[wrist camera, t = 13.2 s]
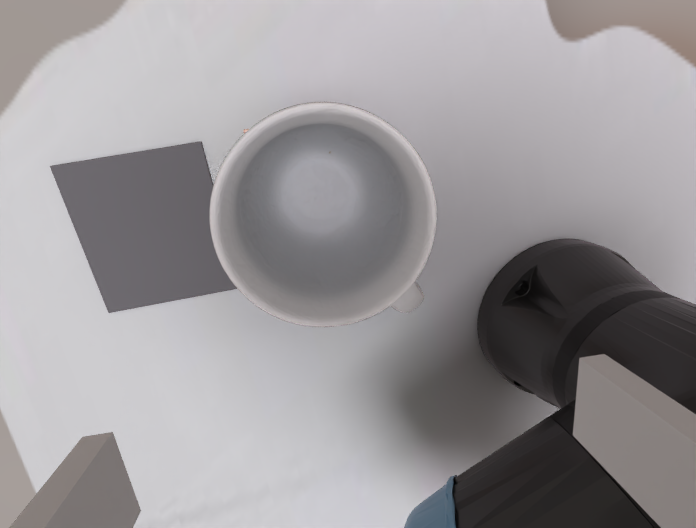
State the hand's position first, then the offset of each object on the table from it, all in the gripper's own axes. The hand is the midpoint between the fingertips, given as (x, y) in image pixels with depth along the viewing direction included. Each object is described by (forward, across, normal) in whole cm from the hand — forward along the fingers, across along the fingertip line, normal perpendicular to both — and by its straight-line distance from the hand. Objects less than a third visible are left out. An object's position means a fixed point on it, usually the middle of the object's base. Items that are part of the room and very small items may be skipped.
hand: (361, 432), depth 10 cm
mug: (+22, -1, -4) cm, 22 cm away
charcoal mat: (+22, +14, -3) cm, 26 cm away
